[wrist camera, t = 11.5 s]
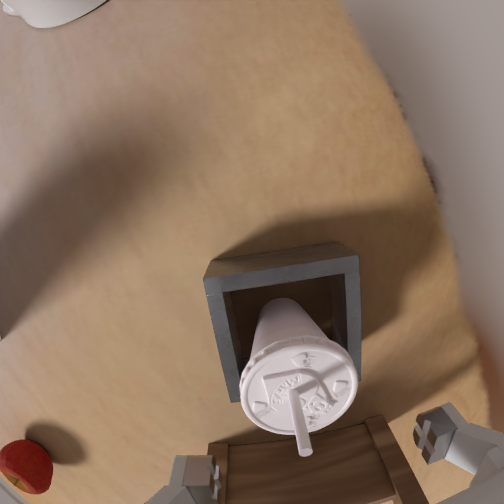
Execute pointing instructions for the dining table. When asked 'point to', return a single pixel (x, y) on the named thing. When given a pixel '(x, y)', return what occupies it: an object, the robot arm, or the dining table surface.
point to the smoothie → (295, 375)
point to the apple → (27, 466)
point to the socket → (276, 272)
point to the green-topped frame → (320, 469)
